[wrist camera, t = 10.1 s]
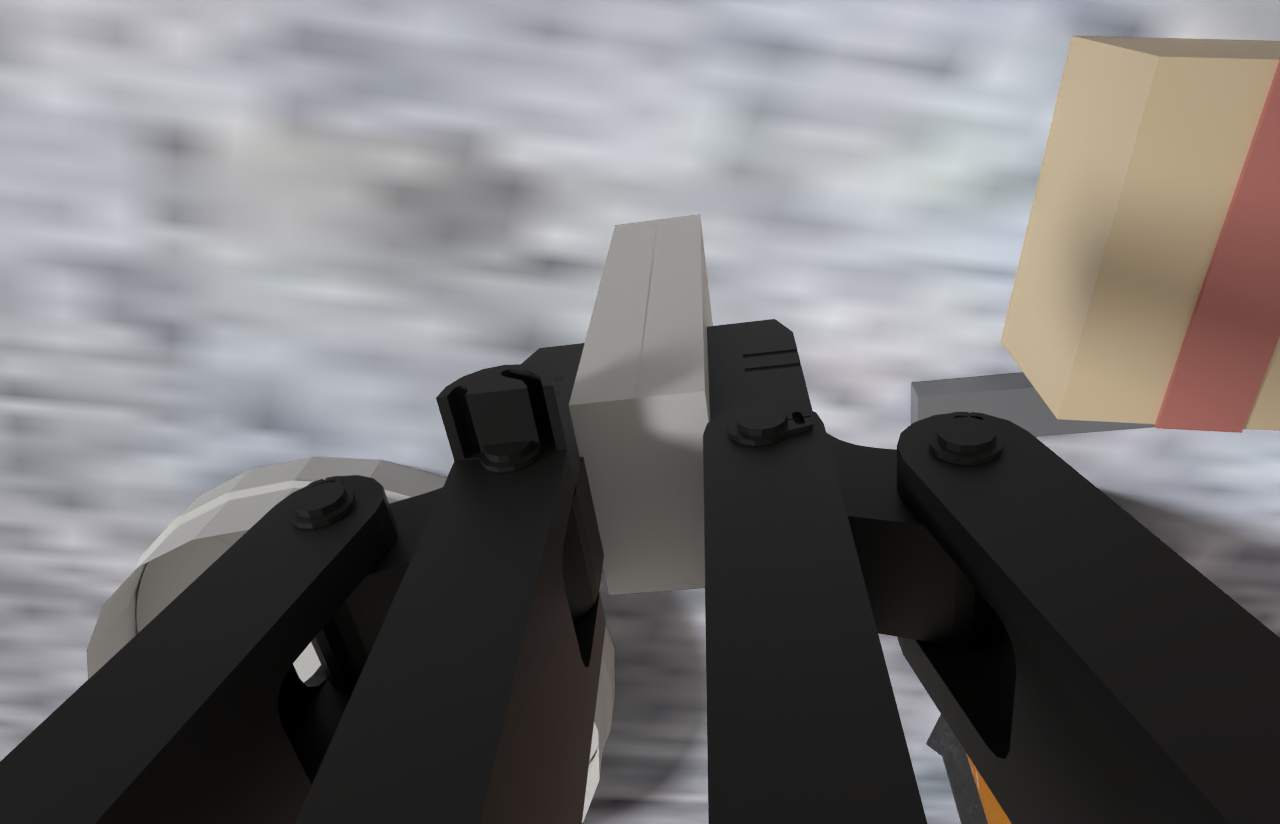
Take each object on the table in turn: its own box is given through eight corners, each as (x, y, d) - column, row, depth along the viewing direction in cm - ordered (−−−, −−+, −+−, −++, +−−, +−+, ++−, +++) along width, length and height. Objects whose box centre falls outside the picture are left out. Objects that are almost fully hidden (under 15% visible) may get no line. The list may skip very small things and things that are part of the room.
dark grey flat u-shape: (914, -303, 23) (924, -316, 21) (1708, -455, 20) (1763, -477, 19) (910, 430, 33) (917, 445, 32) (1440, 386, 30) (1466, 402, 29)
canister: (1195, 553, 34) (1706, 1191, 17) (996, 713, 39) (1227, 1339, 21) (1025, 440, 32) (1392, 1020, 15) (838, 623, 37) (949, 1224, 20)
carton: (1070, 33, 26) (1162, 55, 21) (1346, 40, 26) (1515, 64, 20) (998, 340, 31) (1058, 423, 25) (1230, 351, 30) (1341, 437, 25)
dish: (712, 706, 41) (712, 798, 36) (385, 860, 48) (352, 952, 44) (382, 354, 33) (331, 415, 29) (56, 600, 41) (-24, 679, 36)
